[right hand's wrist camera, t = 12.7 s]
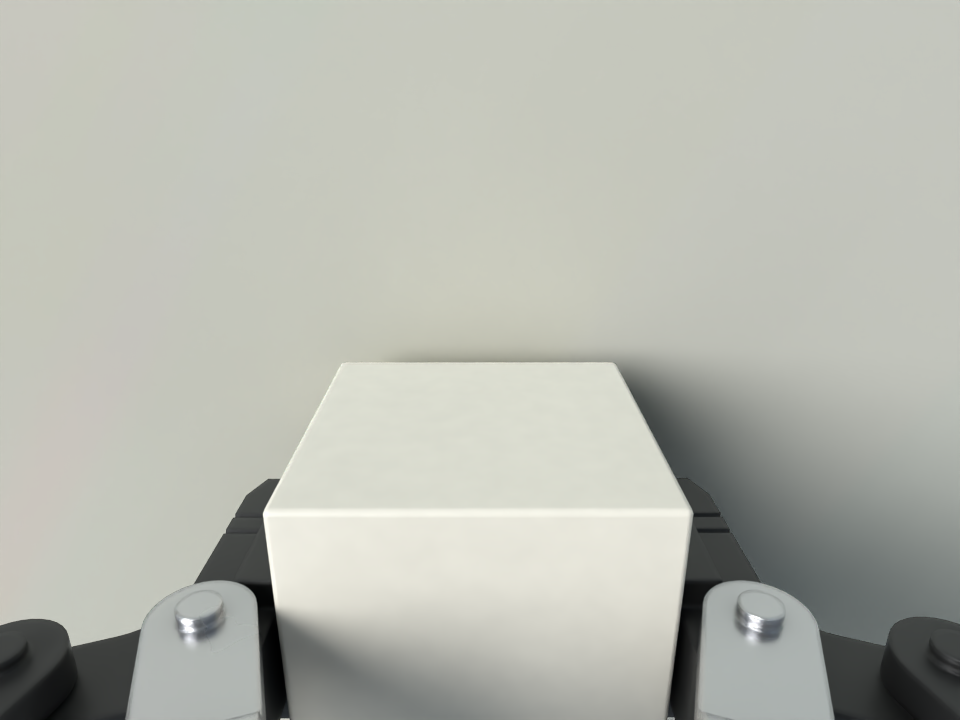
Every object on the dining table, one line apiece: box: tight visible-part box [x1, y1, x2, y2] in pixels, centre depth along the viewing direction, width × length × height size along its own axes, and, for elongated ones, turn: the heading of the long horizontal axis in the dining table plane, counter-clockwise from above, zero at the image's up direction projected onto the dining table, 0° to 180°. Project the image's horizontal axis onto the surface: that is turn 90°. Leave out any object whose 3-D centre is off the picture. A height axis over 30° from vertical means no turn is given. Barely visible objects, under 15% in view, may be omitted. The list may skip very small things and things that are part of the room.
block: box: [263, 362, 693, 720], centre depth 10 cm, size 5×5×5 cm
